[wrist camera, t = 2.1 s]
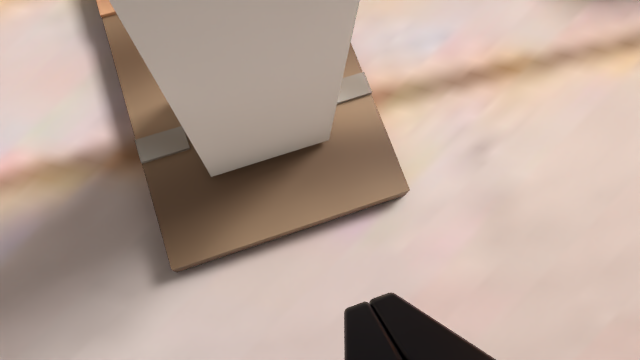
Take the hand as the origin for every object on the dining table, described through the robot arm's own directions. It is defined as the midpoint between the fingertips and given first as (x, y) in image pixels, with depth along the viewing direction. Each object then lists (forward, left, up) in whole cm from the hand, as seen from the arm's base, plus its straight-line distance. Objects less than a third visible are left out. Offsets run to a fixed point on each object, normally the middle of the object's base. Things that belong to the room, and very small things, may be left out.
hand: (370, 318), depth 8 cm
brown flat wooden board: (+10, +7, -12) cm, 17 cm away
